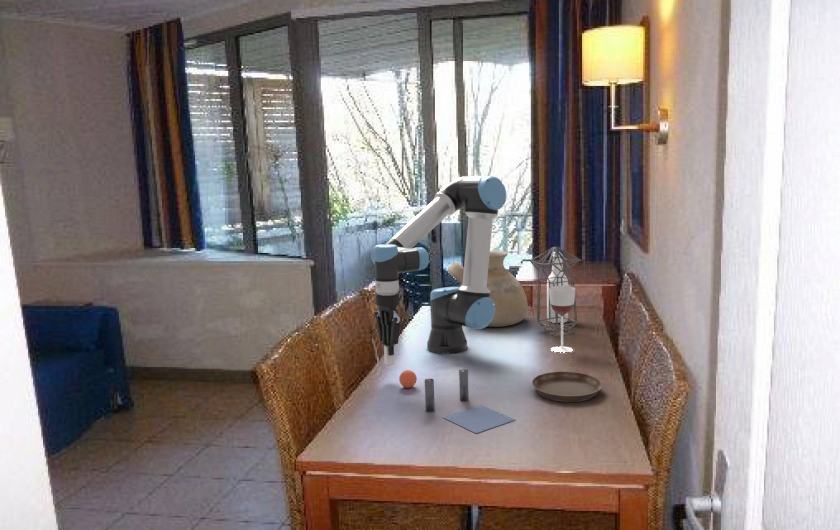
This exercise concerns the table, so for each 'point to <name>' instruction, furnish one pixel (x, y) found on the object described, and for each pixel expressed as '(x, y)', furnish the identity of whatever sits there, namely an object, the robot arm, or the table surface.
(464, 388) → the post
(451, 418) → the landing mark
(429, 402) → the post
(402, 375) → the ball
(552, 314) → the alcohol
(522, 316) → the jug
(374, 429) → the table surface
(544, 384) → the plant saucer
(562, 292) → the wineglass
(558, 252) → the geometric lantern
